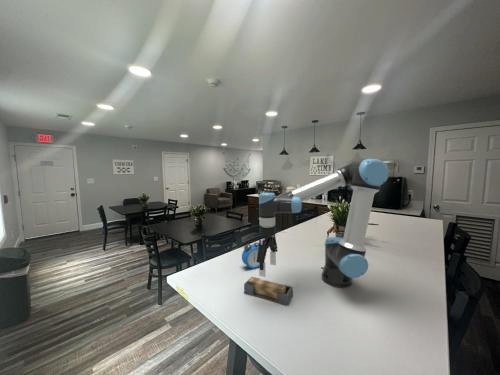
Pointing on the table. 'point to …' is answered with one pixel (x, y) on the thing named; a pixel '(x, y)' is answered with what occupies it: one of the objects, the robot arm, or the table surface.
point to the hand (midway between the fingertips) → (268, 269)
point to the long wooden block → (267, 287)
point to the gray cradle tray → (280, 299)
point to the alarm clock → (250, 255)
